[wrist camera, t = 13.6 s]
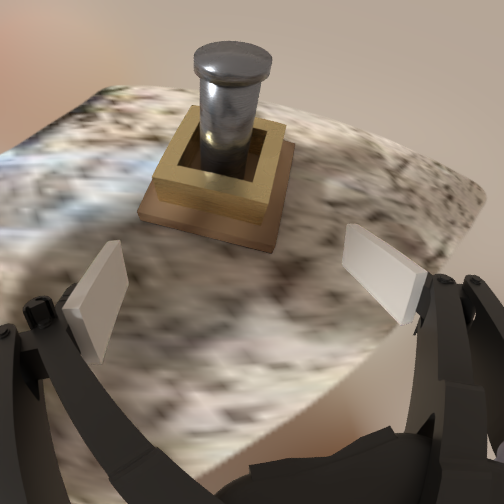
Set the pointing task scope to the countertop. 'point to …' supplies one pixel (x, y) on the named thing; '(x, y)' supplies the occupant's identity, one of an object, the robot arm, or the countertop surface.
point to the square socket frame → (214, 185)
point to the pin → (228, 103)
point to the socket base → (221, 225)
